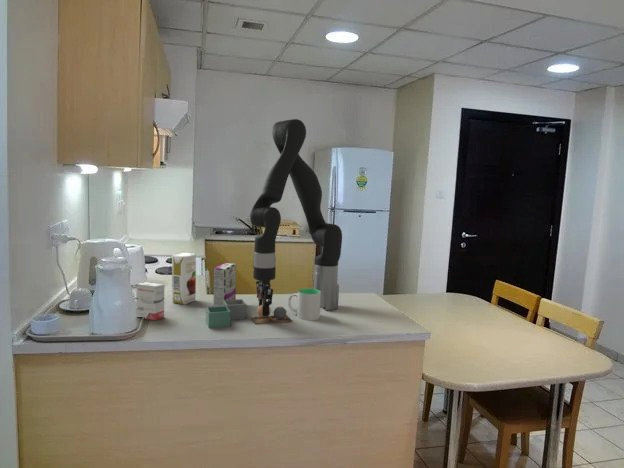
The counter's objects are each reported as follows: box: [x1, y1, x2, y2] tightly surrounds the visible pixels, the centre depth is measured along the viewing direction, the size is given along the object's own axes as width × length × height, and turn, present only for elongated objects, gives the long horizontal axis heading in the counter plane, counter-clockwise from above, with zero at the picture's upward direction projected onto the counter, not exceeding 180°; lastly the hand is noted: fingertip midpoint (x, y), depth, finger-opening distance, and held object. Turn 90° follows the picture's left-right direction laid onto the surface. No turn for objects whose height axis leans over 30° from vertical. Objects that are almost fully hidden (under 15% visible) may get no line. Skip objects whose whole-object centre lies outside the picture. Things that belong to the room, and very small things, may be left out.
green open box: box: [205, 306, 231, 329], centre depth 159 cm, size 7×7×6 cm
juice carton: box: [171, 252, 197, 305], centre depth 187 cm, size 8×9×19 cm
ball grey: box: [272, 306, 287, 320], centre depth 167 cm, size 4×4×4 cm
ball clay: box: [256, 305, 272, 318], centre depth 165 cm, size 4×4×4 cm
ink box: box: [135, 281, 165, 321], centre depth 167 cm, size 9×5×12 cm, turn 71°
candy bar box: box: [213, 262, 237, 307], centre depth 181 cm, size 11×5×16 cm, turn 168°
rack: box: [250, 314, 293, 326], centre depth 166 cm, size 13×7×2 cm, turn 110°
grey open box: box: [223, 298, 247, 320], centre depth 169 cm, size 7×7×6 cm
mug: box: [287, 288, 321, 321], centre depth 172 cm, size 12×8×10 cm
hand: (263, 313), depth 165 cm, fingers closed on ball clay, 4 cm apart
